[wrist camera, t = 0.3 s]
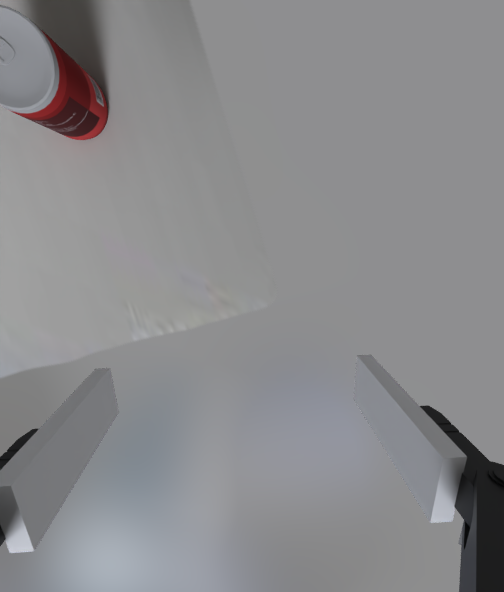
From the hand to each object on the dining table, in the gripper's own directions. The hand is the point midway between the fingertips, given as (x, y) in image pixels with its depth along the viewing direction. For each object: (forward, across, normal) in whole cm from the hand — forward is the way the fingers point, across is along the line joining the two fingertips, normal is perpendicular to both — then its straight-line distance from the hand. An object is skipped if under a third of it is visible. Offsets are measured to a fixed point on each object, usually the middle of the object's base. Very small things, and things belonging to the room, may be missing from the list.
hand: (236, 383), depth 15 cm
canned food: (+28, -19, +22) cm, 40 cm away
